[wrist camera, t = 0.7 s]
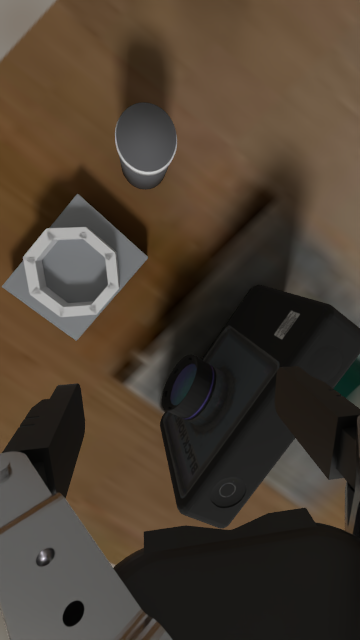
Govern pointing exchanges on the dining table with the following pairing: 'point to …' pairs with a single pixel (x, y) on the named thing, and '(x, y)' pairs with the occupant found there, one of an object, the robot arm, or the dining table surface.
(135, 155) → the lens
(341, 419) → the robot arm
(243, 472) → the camera
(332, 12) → the dining table surface
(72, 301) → the mount block
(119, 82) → the dining table surface
